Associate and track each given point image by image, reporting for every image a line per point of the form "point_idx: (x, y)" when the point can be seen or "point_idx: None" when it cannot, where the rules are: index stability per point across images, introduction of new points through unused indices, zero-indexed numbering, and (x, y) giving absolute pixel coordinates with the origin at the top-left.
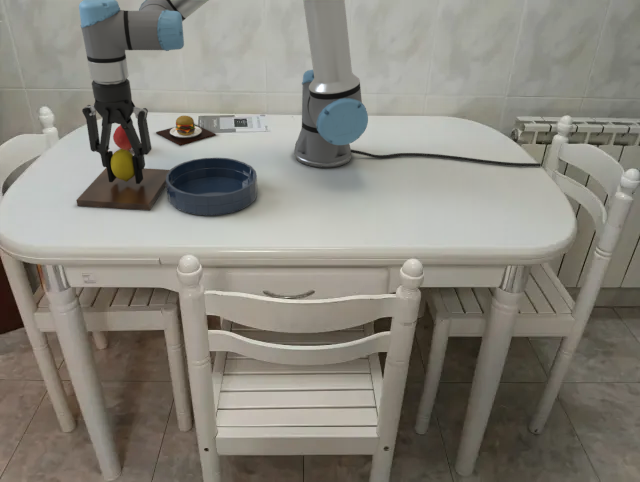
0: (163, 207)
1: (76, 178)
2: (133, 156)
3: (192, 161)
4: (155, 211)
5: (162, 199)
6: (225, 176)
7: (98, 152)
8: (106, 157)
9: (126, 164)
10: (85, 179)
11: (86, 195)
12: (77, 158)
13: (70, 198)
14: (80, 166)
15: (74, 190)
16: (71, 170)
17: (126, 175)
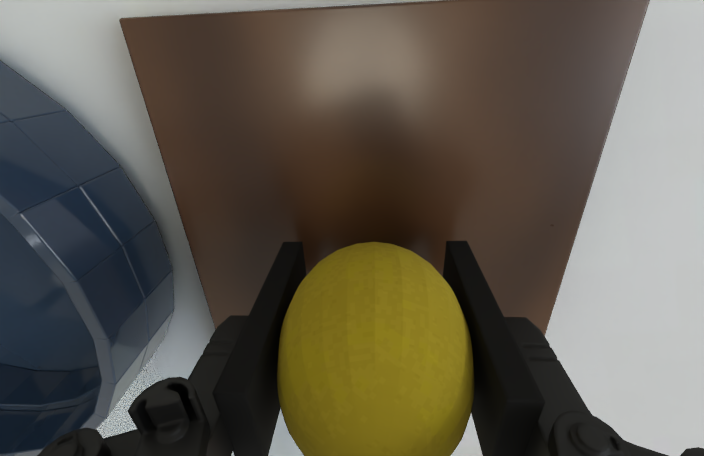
0: (100, 81)
1: (656, 312)
2: (243, 406)
3: (78, 428)
4: (109, 19)
5: (161, 170)
6: (33, 372)
7: (627, 442)
8: (517, 382)
9: (309, 318)
10: (610, 308)
11: (582, 79)
12: (665, 446)
13: (676, 100)
14: (647, 399)
15: (657, 199)
16: (686, 370)
17: (333, 253)
